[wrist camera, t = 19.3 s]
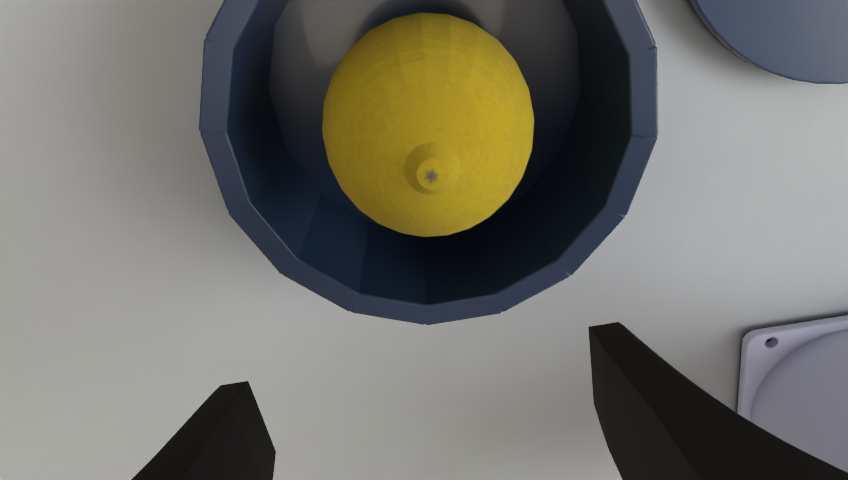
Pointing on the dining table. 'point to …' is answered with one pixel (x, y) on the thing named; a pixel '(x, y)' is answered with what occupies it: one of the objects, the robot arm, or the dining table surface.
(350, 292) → the pot
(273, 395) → the dining table surface
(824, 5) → the pot lid
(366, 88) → the lemon
